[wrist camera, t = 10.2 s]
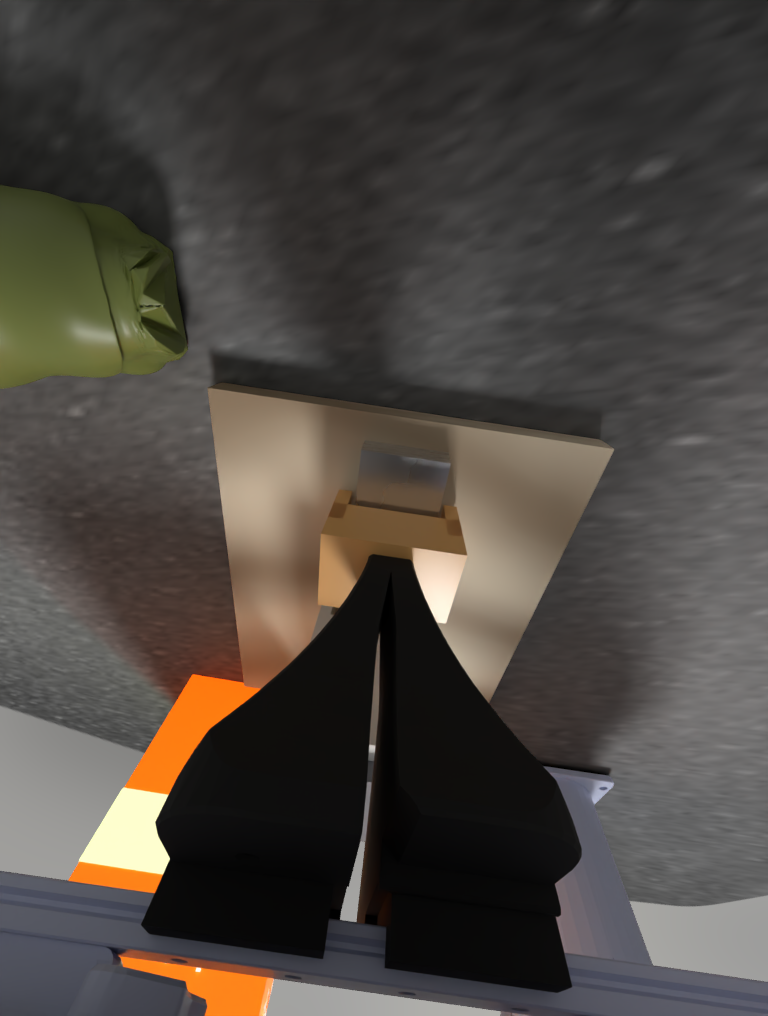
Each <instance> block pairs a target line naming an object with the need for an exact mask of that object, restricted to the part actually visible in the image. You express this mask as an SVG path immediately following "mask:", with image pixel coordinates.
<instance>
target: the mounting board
mask: <svg viewBox="0 0 768 1016" xmlns="http://www.w3.org/2000/svg"><path fill="white" fill-rule="evenodd" d="M208 396H209V404H210V412H211V420H212V428H213V437H214V445H215V453H216V461H217V469H218V477H219V485H220V493H221V502H222V510H223V518H224V526H225V534H226V542H227V550H228V559H229V567H230V575H231V583H232V591H233V599H234V607H235V615H236V624H237V632H238V640H239V648H240V656H241V664H242V672H243V681H244V686H246V687H252V688H259V689H261V688H262V687H264V686H265V685H266V684H267V683H268V682H269V681H271V680H272V679H273V678H274V677H275V676H276V675H277V674H279V673H280V672H281V671H282V670H283V669H284V668H285V667H286V666H287V665H289V664H290V663H291V662H292V661H293V660H294V659H295V658H296V657H297V656H298V655H299V654H300V653H301V652H302V651H303V650H304V649H305V648H306V647H307V646H308V644H309V643H310V641H311V638H312V634H313V631H314V628H315V625H316V621H317V618H318V615H319V612H320V608H321V605H318V585H319V563H320V542H321V532H322V530H323V527H324V525H325V523H326V520H327V518H328V515H329V513H330V510H331V508H332V505H333V503H334V501H335V498H336V496H337V493H338V491H339V489H341V490H347V491H352V499H351V505H356V495H357V485H358V476H359V466H360V456H361V449H362V446H363V443H364V441H365V440H368V441H375V442H381V443H388V444H395V445H401V446H408V447H415V448H421V449H428V450H434V451H441V452H448V453H449V457H450V461H451V466H450V470H449V474H448V478H447V482H446V486H445V490H444V494H443V498H442V502H441V507H440V511H439V515H438V518H440V517H441V513H442V509H443V506H444V505H447V506H454V507H457V511H458V515H459V520H460V524H461V528H462V533H463V537H464V542H465V546H466V551H467V555H468V556H467V559H466V562H465V565H464V569H463V572H462V575H461V578H460V581H459V584H458V587H457V590H456V594H455V597H454V600H453V603H452V606H451V609H450V612H449V615H448V619H447V622H446V624H445V623H438V622H437V624H438V626H439V628H440V630H441V632H442V634H443V635H444V637H445V639H446V641H447V643H448V644H449V646H450V648H451V649H452V651H453V653H454V654H455V656H456V657H457V659H458V661H459V662H460V664H461V665H462V667H463V668H464V670H465V671H466V673H467V674H468V676H469V677H470V679H471V680H472V682H473V683H474V684H475V686H476V687H477V688H478V690H479V691H480V692H481V694H482V695H483V696H484V698H485V699H486V700H487V702H488V703H489V702H490V700H491V698H492V696H493V694H494V692H495V690H496V688H497V686H498V684H499V682H500V680H501V678H502V676H503V674H504V672H505V670H506V668H507V666H508V664H509V662H510V660H511V658H512V656H513V654H514V652H515V649H516V647H517V645H518V643H519V641H520V639H521V637H522V635H523V633H524V631H525V629H526V627H527V625H528V623H529V621H530V619H531V617H532V615H533V613H534V611H535V609H536V607H537V605H538V603H539V601H540V599H541V597H542V595H543V593H544V591H545V589H546V587H547V585H548V583H549V581H550V579H551V577H552V575H553V573H554V571H555V569H556V567H557V565H558V563H559V560H560V558H561V556H562V554H563V552H564V550H565V548H566V546H567V544H568V542H569V540H570V538H571V536H572V534H573V532H574V530H575V528H576V526H577V524H578V522H579V520H580V518H581V516H582V514H583V512H584V510H585V508H586V506H587V504H588V502H589V500H590V498H591V496H592V494H593V492H594V490H595V488H596V486H597V484H598V482H599V480H600V478H601V476H602V474H603V471H604V469H605V467H606V465H607V463H608V461H609V459H610V457H611V455H612V453H613V451H614V448H612V447H611V446H609V445H608V444H606V443H605V442H603V441H602V440H600V439H593V438H587V437H580V436H573V435H567V434H560V433H554V432H547V431H540V430H534V429H527V428H520V427H514V426H507V425H501V424H494V423H487V422H481V421H474V420H467V419H461V418H454V417H448V416H441V415H434V414H428V413H421V412H414V411H408V410H401V409H395V408H388V407H381V406H375V405H368V404H361V403H355V402H348V401H342V400H335V399H328V398H322V397H315V396H308V395H302V394H295V393H289V392H282V391H275V390H269V389H262V388H255V387H249V386H242V385H236V384H229V383H222V382H221V383H219V384H216V385H213V386H211V387H208ZM338 609H339V608H337V607H333V615H334V614H335V613H336V612H337V610H338Z"/></svg>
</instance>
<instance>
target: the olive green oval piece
mask: <svg viewBox="0 0 768 1016" xmlns="http://www.w3.org/2000/svg"><path fill="white" fill-rule="evenodd" d="M174 268H175V266H174V261H173V252H172V251H171V250H170V249H169V248H167V247H166V246H164V245H163V244H162V243H160V242H159V241H158V240H156V239H155V238H154V237H152V236H150V235H147V234H145V233H142V232H141V231H140V230H139V229H138V228H137V227H136V225H135V224H134V223H133V222H132V221H131V220H130V219H129V218H127V217H126V216H125V215H123V214H122V213H120V212H118V211H116V210H114V209H112V208H109V207H107V206H103V205H99V204H92V203H79V202H73V201H70V200H67V199H64V198H62V197H59V196H56V195H53V194H50V193H46V192H41V191H36V190H30V189H22V188H15V187H9V186H3V185H0V389H3V388H10V387H15V386H20V385H24V384H27V383H31V382H34V381H37V380H40V379H42V378H45V377H48V376H58V375H65V376H81V377H110V376H114V375H117V374H119V373H126V374H134V375H145V374H151V373H154V372H157V371H159V370H160V369H162V368H163V367H164V365H165V364H166V362H169V361H174V360H179V359H180V358H181V357H182V356H183V355H184V354H185V353H186V351H187V350H188V346H187V341H186V336H185V330H184V325H183V319H182V314H181V309H180V304H179V298H178V292H177V284H176V279H177V277H176V275H175V271H174Z"/></svg>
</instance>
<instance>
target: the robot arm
mask: <svg viewBox="0 0 768 1016" xmlns="http://www.w3.org/2000/svg"><path fill="white" fill-rule="evenodd" d="M379 634H380V662H379V711H378V724H377V734H376V745H375V755H374V765H373V774H372V784H371V794H370V803H369V813H368V822H367V832H366V841H365V851H364V859H363V869H362V877H361V887H360V896H359V904H358V913H357V922H349V921H342V920H340V915H341V909H342V904H343V901H344V897H345V893H346V889H347V886H349V883H350V879H351V875H352V871H353V867H354V863H355V859H356V856H357V852H358V848H359V844H360V840H361V836H362V830H363V820H364V810H365V800H366V789H367V773H368V757H369V742H370V727H371V713H372V700H373V687H374V675H375V663H376V651H377V643H378V639H379ZM613 786H614V782H613V780H612V778H611V777H610V776H607V775H601V774H594V773H587V772H580V771H574V770H567V769H560V768H553V767H546V766H542V765H541V763H540V762H539V761H538V760H537V759H536V758H535V757H534V756H533V755H532V754H531V753H530V752H529V751H528V750H527V749H526V748H525V746H524V745H523V744H522V743H521V742H520V741H519V740H518V739H517V737H516V736H515V735H514V734H513V733H512V732H511V730H510V729H509V728H508V727H507V726H506V724H505V723H504V722H503V721H502V720H501V718H500V717H499V716H498V715H497V713H496V712H495V711H494V709H493V708H492V707H491V706H490V704H489V703H488V702H487V700H486V699H485V698H484V696H483V695H482V694H481V692H480V691H479V690H478V688H477V687H476V686H475V684H474V683H473V682H472V680H471V679H470V677H469V676H468V674H467V673H466V671H465V670H464V668H463V667H462V665H461V664H460V662H459V661H458V659H457V657H456V656H455V654H454V653H453V651H452V649H451V648H450V646H449V644H448V643H447V641H446V639H445V637H444V635H443V634H442V632H441V630H440V628H439V626H438V624H437V622H436V620H435V618H434V616H433V614H432V612H431V610H430V607H429V605H428V603H427V601H426V598H425V596H424V594H423V591H422V589H421V586H420V583H419V581H418V578H417V575H416V571H415V568H414V564H413V562H412V561H411V560H410V559H403V558H397V557H390V556H383V555H376V554H372V555H370V556H369V557H368V561H367V563H366V566H365V568H364V570H363V572H362V574H361V575H360V577H359V579H358V581H357V582H356V584H355V586H354V587H353V589H352V590H351V592H350V593H349V595H348V597H347V598H346V599H345V601H344V602H343V604H342V605H341V606H340V608H339V609H338V610H337V612H336V613H335V614H334V616H333V617H332V618H331V619H330V621H329V622H328V623H327V624H326V625H325V627H324V628H323V629H322V630H321V631H320V632H319V634H318V635H317V636H316V637H315V638H314V639H313V640H312V641H311V642H310V643H309V644H308V646H307V647H306V648H305V649H304V650H303V651H302V652H301V653H300V654H299V655H298V656H297V657H296V658H295V659H294V660H293V661H292V662H291V663H290V664H289V665H287V666H286V667H285V668H284V669H283V670H282V671H281V672H280V673H279V674H277V675H276V676H275V677H274V678H273V679H272V680H271V681H269V682H268V683H267V684H266V685H265V686H264V687H262V688H261V689H260V690H259V691H258V692H257V693H255V694H254V695H253V696H252V697H251V698H249V699H248V700H247V701H245V702H244V703H243V704H242V705H240V706H239V707H238V708H236V709H235V710H234V711H232V712H231V713H230V714H228V715H227V716H226V717H224V718H223V719H222V720H220V721H219V722H218V723H217V724H215V725H214V726H213V727H211V728H210V729H209V730H208V732H207V733H206V734H205V736H204V737H203V738H202V740H201V741H200V743H199V744H198V745H197V747H196V748H195V750H194V751H193V753H192V754H191V756H190V757H189V759H188V760H187V762H186V764H185V765H184V767H183V769H182V770H181V772H180V773H179V775H178V777H177V779H176V781H175V783H174V785H173V787H172V789H171V791H170V793H169V795H168V797H167V799H166V801H165V803H164V805H163V807H162V809H161V811H160V813H159V815H158V817H157V819H156V821H155V824H156V829H157V834H158V837H159V839H160V841H161V842H162V844H163V846H164V848H165V850H166V852H167V854H168V856H169V858H170V860H169V862H168V864H167V866H166V869H165V871H164V873H163V875H162V878H161V880H160V882H159V885H158V887H157V889H156V891H155V893H149V892H143V891H136V890H129V889H122V888H115V887H108V886H101V885H94V884H87V883H80V882H74V881H67V880H59V879H52V878H46V877H38V876H32V875H25V874H18V873H11V872H4V871H0V1016H205V1013H206V1010H207V1003H206V999H204V998H201V997H199V996H197V995H195V994H192V993H190V992H189V991H188V989H187V985H186V981H183V980H178V979H174V978H170V977H166V976H161V975H157V974H153V973H149V972H144V971H140V970H136V969H131V968H127V967H123V963H122V960H121V958H120V957H127V958H134V959H141V960H148V961H155V962H162V963H169V964H176V965H183V966H190V967H197V968H204V969H211V970H218V971H225V972H232V973H238V974H245V975H252V976H259V977H266V978H273V979H280V980H288V981H295V982H301V983H308V984H315V985H322V986H329V987H336V988H343V989H350V990H357V991H364V992H370V993H378V994H384V995H391V996H398V997H405V998H412V999H419V1000H426V1001H433V1002H440V1003H447V1004H454V1005H461V1006H468V1007H475V1008H482V1009H488V1010H496V1011H501V1015H500V1016H768V982H764V981H757V980H750V979H743V978H737V977H729V976H723V975H716V974H709V973H702V972H695V971H688V970H681V969H674V968H668V967H660V966H654V965H653V964H652V962H651V959H650V956H649V953H648V951H647V949H646V945H645V943H644V940H643V937H642V934H641V932H640V929H639V926H638V923H637V921H636V918H635V915H634V913H633V910H632V907H631V904H630V902H629V899H628V896H627V893H626V891H625V888H624V885H623V883H622V880H621V877H620V874H619V872H618V869H617V866H616V863H615V861H614V858H613V855H612V853H611V850H610V847H609V844H608V842H607V839H606V836H605V833H604V831H603V828H602V825H601V823H600V820H599V817H598V814H597V812H596V809H595V806H594V804H595V803H596V802H597V801H598V800H600V799H601V798H602V797H603V796H604V795H605V794H606V793H607V792H608V791H609V790H610V789H611V788H612V787H613ZM119 956H120V957H119Z"/></svg>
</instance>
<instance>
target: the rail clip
mask: <svg viewBox="0 0 768 1016" xmlns="http://www.w3.org/2000/svg"><path fill="white" fill-rule="evenodd" d="M351 499H352V491H347V490H341V489H339V491H338V493H337V496H336V498H335V501H334V503H333V505H332V508H331V510H330V513H329V515H328V518H327V520H326V523H325V525H324V527H323V530H322V532H321V542H320V563H319V585H318V605H324V606H331V607H337V608H340V606H341V605H342V604H343V602H344V601H345V599H346V598H347V597H348V595H349V593H350V592H351V590H352V589H353V587H354V586H355V584H356V582H357V581H358V579H359V577H360V575H361V574H362V572H363V570H364V568H365V566H366V563H367V561H368V557H369V556H370V555H372V554H376V555H383V556H390V557H397V558H403V559H410V560H411V561H412V562H413V564H414V568H415V571H416V575H417V578H418V581H419V583H420V586H421V589H422V591H423V594H424V596H425V598H426V601H427V603H428V605H429V607H430V610H431V612H432V614H433V616H434V618H435V620H436V622H438V623H445V624H446V622H447V619H448V615H449V612H450V609H451V606H452V603H453V600H454V597H455V594H456V590H457V587H458V584H459V581H460V578H461V575H462V572H463V569H464V565H465V562H466V559H467V556H468V555H467V551H466V546H465V542H464V537H463V533H462V528H461V524H460V520H459V515H458V511H457V507H454V506H447V505H444V506H443V509H442V513H441V517H440V518H437V517H430V516H424V515H417V514H410V513H404V512H397V511H390V510H384V509H377V508H370V507H364V506H357V505H351Z"/></svg>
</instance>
